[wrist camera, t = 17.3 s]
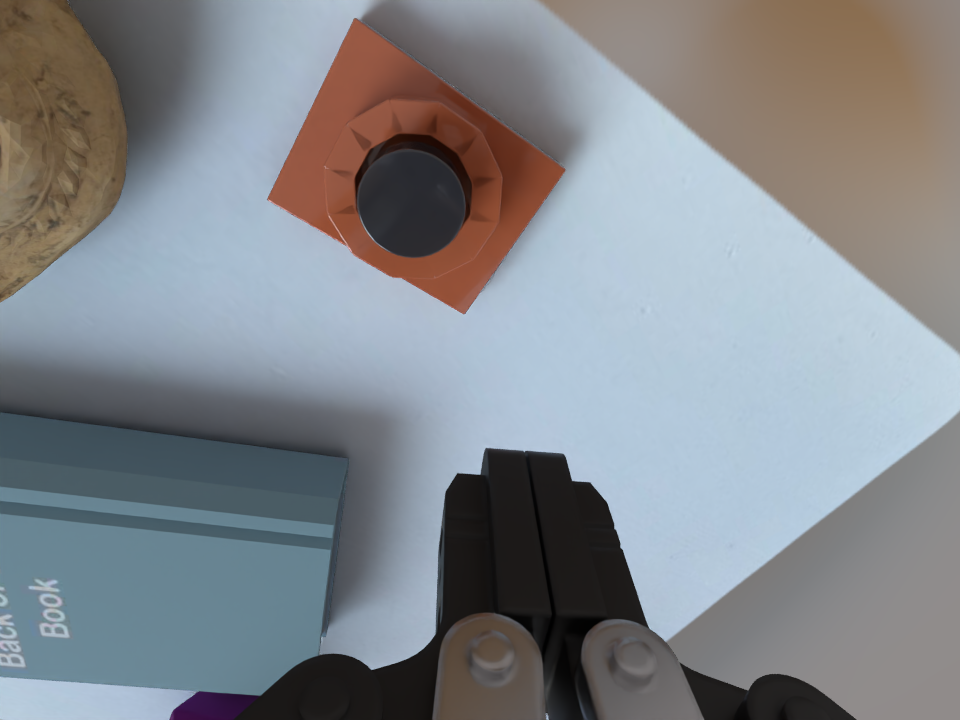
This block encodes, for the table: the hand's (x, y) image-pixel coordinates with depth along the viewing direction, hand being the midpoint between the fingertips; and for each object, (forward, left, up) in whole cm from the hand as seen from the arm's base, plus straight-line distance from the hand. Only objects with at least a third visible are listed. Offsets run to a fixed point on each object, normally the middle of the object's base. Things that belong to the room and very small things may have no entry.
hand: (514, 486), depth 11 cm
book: (+25, +11, -18) cm, 33 cm away
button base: (+2, -3, -18) cm, 18 cm away
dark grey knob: (+2, -3, -15) cm, 15 cm away
